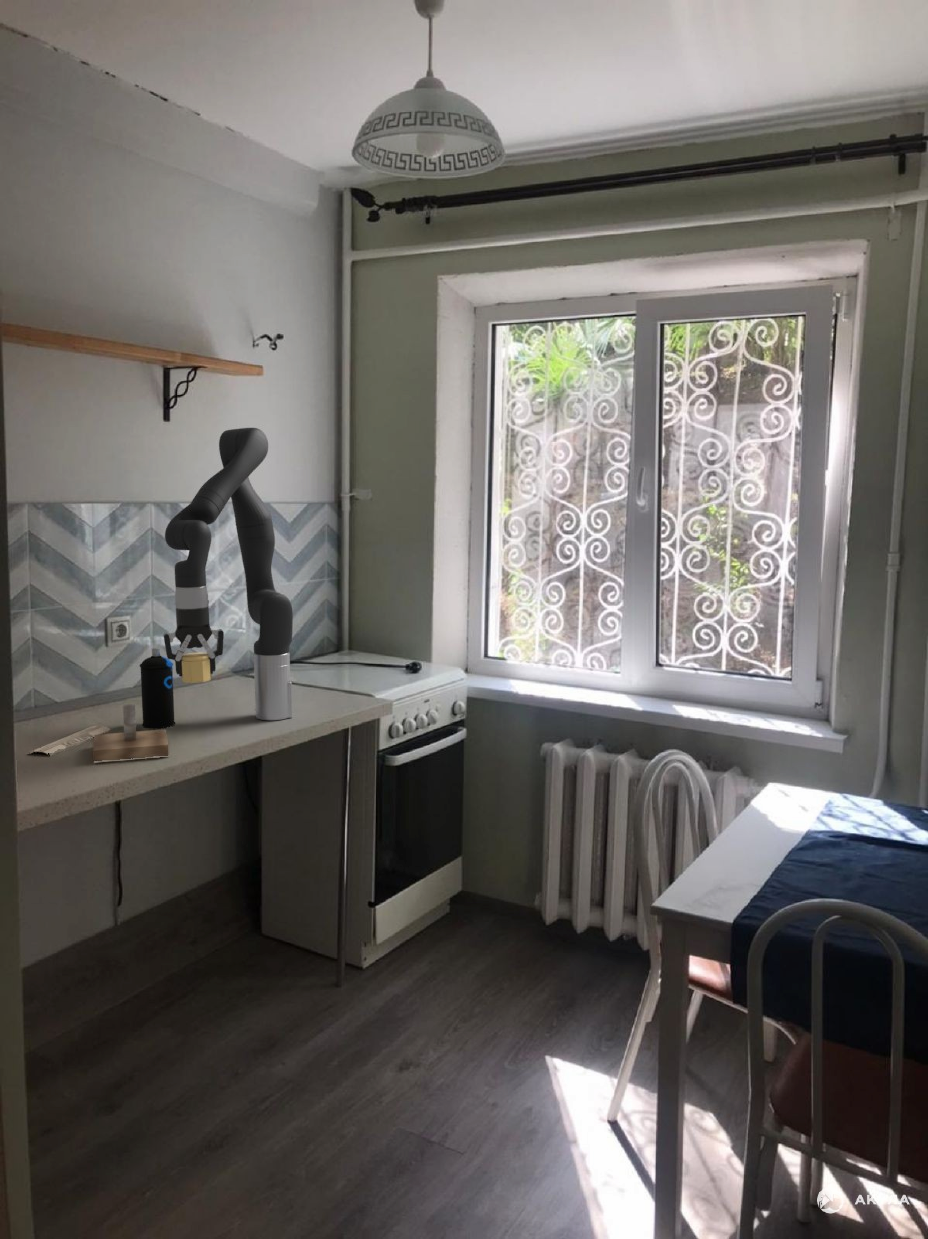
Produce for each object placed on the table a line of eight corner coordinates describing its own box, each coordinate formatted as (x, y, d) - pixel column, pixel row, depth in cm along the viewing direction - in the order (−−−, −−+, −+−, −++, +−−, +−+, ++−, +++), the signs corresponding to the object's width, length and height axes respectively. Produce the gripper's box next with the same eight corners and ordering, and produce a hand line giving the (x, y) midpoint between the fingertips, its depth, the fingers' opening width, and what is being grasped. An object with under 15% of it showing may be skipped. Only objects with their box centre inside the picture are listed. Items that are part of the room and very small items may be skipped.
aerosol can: (141, 730, 249) (137, 651, 246) (142, 722, 257) (139, 645, 254) (175, 728, 251) (172, 650, 249) (175, 720, 259) (172, 644, 256)
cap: (208, 676, 241) (207, 651, 240) (211, 681, 235) (210, 656, 234) (181, 678, 239) (180, 653, 238) (183, 683, 233) (182, 658, 232)
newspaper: (89, 731, 250) (89, 724, 250) (114, 733, 248) (114, 726, 248) (27, 757, 227) (26, 750, 227) (54, 760, 226) (53, 752, 226)
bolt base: (165, 741, 239) (164, 696, 237) (168, 757, 226) (166, 710, 224) (94, 747, 234) (92, 701, 232) (93, 763, 220) (90, 715, 219)
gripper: (221, 601, 240) (225, 669, 243) (159, 604, 235) (163, 674, 238) (225, 605, 233) (228, 675, 236) (161, 609, 228) (165, 680, 231)
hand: (195, 674), depth 237 cm, fingers closed on cap, 6 cm apart
